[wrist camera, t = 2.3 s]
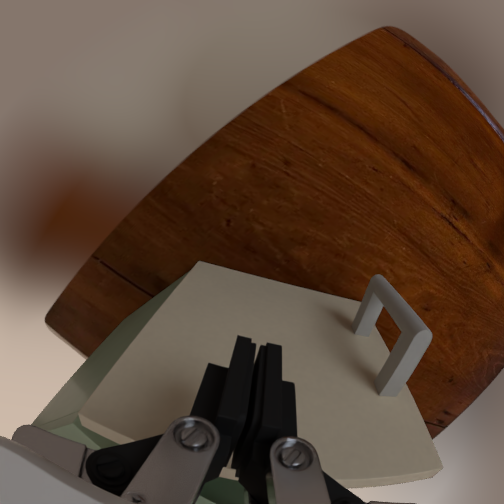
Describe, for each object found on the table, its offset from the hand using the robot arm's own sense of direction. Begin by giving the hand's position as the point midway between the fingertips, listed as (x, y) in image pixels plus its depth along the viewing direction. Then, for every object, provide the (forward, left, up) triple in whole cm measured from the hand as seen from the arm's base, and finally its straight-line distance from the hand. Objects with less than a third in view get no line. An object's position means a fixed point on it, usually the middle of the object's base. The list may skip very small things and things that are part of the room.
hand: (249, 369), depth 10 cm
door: (+4, 0, -22) cm, 23 cm away
